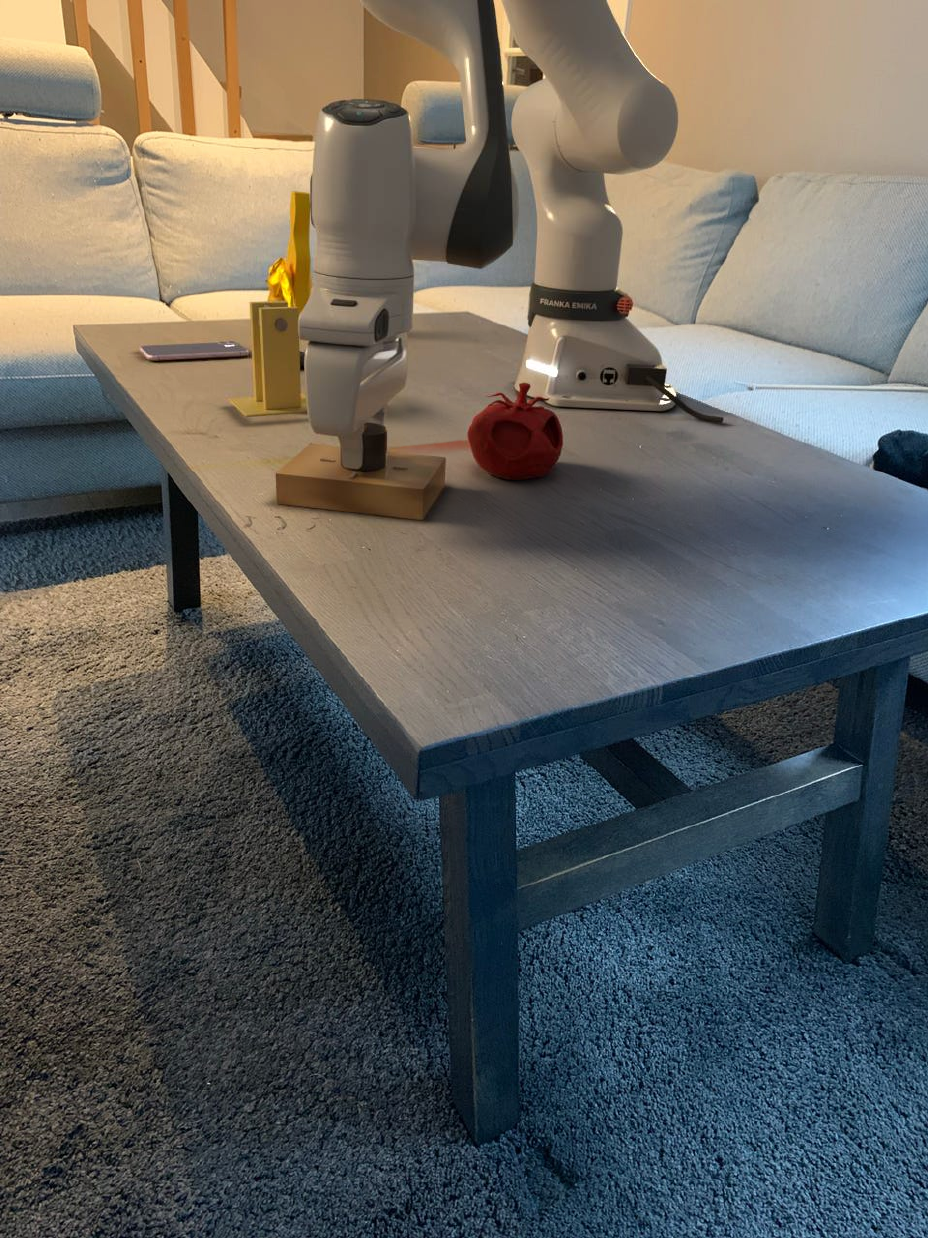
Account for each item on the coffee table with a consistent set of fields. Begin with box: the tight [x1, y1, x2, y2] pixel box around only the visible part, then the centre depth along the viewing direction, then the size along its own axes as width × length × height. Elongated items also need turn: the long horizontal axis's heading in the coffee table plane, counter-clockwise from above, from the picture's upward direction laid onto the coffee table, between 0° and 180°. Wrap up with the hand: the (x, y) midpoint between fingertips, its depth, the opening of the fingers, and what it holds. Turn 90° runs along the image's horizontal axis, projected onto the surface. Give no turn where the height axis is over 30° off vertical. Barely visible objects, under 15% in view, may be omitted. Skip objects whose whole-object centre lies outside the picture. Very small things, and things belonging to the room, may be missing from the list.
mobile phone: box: [139, 340, 250, 362], centre depth 144 cm, size 8×1×15 cm
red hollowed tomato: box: [467, 383, 564, 481], centre depth 100 cm, size 10×10×9 cm
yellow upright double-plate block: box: [228, 300, 308, 418], centre depth 115 cm, size 10×8×13 cm
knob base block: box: [275, 442, 447, 521], centre depth 93 cm, size 14×10×3 cm
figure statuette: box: [265, 190, 313, 315], centre depth 159 cm, size 18×8×22 cm, turn 23°
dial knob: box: [339, 422, 388, 471], centre depth 91 cm, size 4×4×4 cm
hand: (362, 457), depth 92 cm, fingers closed on dial knob, 4 cm apart
